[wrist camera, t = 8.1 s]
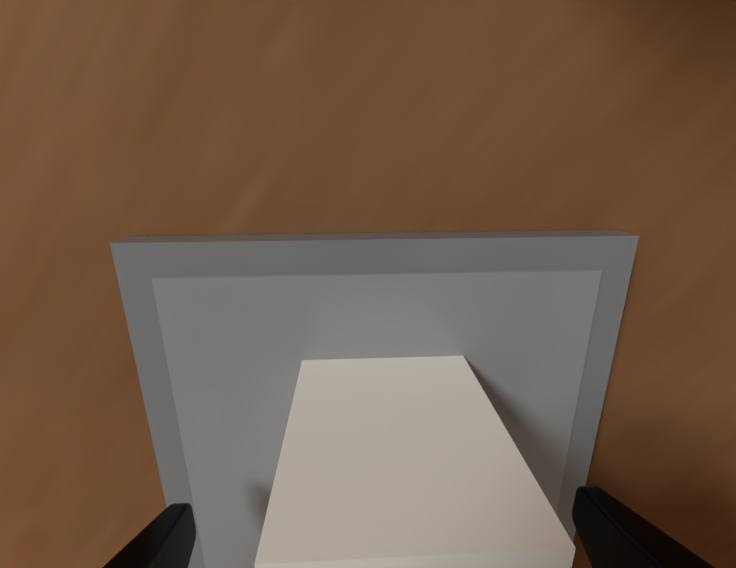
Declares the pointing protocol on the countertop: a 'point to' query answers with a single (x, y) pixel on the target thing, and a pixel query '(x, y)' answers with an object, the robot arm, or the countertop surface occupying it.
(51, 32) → the countertop surface
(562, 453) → the plate
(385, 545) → the connector
